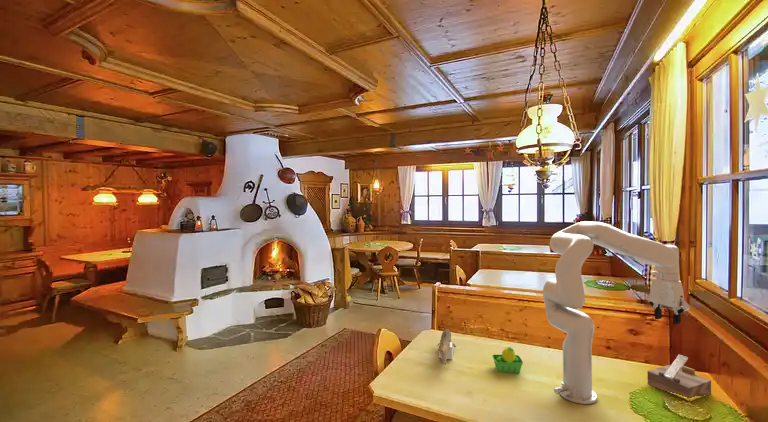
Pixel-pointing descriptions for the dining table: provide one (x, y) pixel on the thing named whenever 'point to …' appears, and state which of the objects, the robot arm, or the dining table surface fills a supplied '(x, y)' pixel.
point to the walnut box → (680, 382)
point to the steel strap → (675, 366)
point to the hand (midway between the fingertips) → (667, 320)
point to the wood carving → (446, 346)
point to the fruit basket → (508, 361)
